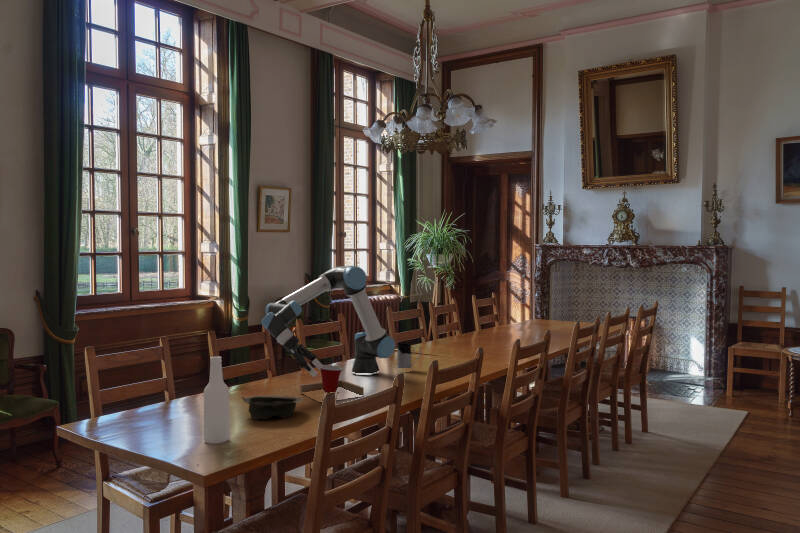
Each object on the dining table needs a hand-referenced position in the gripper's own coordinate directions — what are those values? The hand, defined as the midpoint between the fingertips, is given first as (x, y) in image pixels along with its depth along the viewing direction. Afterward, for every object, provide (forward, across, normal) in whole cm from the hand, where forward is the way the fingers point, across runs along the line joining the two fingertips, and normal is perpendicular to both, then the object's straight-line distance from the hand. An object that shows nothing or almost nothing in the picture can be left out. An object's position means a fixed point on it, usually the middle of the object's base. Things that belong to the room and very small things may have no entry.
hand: (319, 372), depth 298 cm
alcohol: (-5, +74, -21) cm, 77 cm away
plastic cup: (+10, -3, -4) cm, 11 cm away
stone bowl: (+1, +37, -15) cm, 40 cm away
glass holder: (+32, -66, +17) cm, 75 cm away
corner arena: (+12, 0, -4) cm, 12 cm away
